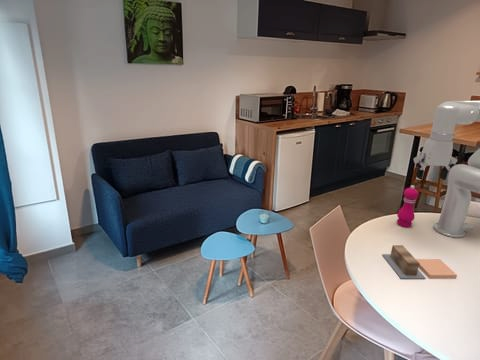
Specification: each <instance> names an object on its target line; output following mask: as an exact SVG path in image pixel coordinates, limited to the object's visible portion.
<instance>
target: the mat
mask: <svg viewBox="0 0 480 360" xmlns="http://www.w3.org/2000/svg"><path fill="white" fill-rule="evenodd" d="M390 255H391V253H389V254H388V253H386V254H385V253H384V254H382V255H381V256H382V258H383V259H385V261H386V262H387V264H388V265H389V266H390V267H391V269H392V270H393V271H394V272H395V274H396V275H397V276H398V278H399V279H400V280H426V278H427V277H425V275H424V273H422V271H420V269H418V272H417V275H405V274H404V273H403V271H402V270H401V269H400V268H399V266H398V265H397V264H396V263H395V262H394V260H393V259H392V258H391V257H390Z"/></svg>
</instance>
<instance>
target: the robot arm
mask: <svg viewBox="0 0 480 360" xmlns="http://www.w3.org/2000/svg"><path fill="white" fill-rule="evenodd" d="M475 122H476V123H477V122H478V123H480V100H451V101H450V100H449V101H444V102H441V104H438V105H437V107H436V110H435V113H434V118H433V122H432V126H431V130H430V135H429V138H428V139H426V141H425V143H424V146H423V147H422V151H421V153H420V155H418V156H415V157H414V158H413V162H414V165H415V166H416V168H417V171H416V178H417V179H419V180H423V178H424V173H425V170H424V169H426V167H428V166H429V167H442V168H441V169H440V173H439V178H440V179H441V180H443V181H446V179H447V177H448V179H447V181H448V182H447V189H446V193H445V197H444V201H443V204H442V208H441V210H440V215H439V220H438V222H436V223H435V222H434V224H433V226H432V227H433V230H435V232H437V233H439V234H440V235H443V236H446V237H450V238H457V239H458V238H464V237H465V236H466V231H465V230H473V229H474V226H473V224H467V223H466V222H465V221H466V218H467V215H468V211H469V207H470V205H471V201H472V193H471V191H472V192H474V193H477V194H480V147H479V148H478V149H477V150H476V151H475V152H474V153H473V154H472V155H471V156H470V157H469V158H468V160H467V164H468V165H467V164H463V163H461V164H460V163H459V164H456V163H457V162H458V159H457V158H455V157H453V156H452V155H453V147H454V142H453V139H455V138H456V134H454V133H455V129H456V126H457V125H464V126H467V125H471V124H473V123H475Z"/></svg>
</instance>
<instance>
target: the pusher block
mask: <svg viewBox="0 0 480 360" xmlns="http://www.w3.org/2000/svg"><path fill="white" fill-rule="evenodd" d="M390 254H391V255H390V257H391V258H392V259H393V260H394V262H395V263H396V264H397V265H398V266H399V268H400V269H401V270H402V271H403V273H404V274H405V275H417V272H418V270H419V269H420V268H419V264H420V263H419V262H418V261H417V260H416V259H417V258H415V257H414V256H413V255H412V253H411V252H410V251H409V250H408V249H407V248H406V247H405V245H401V244H400V245H396V244H395V245H394V244H393V245H392V247H391V251H390Z"/></svg>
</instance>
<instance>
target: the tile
mask: <svg viewBox="0 0 480 360" xmlns="http://www.w3.org/2000/svg"><path fill="white" fill-rule="evenodd" d="M415 259H416V260H417V261H418V262H419V263H420V264H419V268H418V269H419V270H421V272H423V273H422V274H423V275H424V276H426V278H428V279H429V280H430V279H438V280H439V279H440V280H441V279H442V280H443V279H444V280H445V279H449V280H450V279H451V280H452V279H457V277H458V275H457V273H455V272H454V271H453V270H452V269H451V267H449V266H448V265H447V264H446V263H445V262H443V260H442V259H441V258H415Z"/></svg>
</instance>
